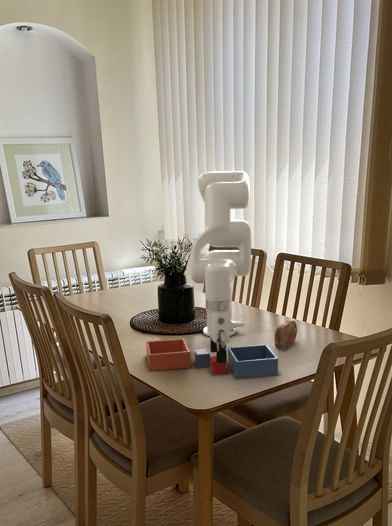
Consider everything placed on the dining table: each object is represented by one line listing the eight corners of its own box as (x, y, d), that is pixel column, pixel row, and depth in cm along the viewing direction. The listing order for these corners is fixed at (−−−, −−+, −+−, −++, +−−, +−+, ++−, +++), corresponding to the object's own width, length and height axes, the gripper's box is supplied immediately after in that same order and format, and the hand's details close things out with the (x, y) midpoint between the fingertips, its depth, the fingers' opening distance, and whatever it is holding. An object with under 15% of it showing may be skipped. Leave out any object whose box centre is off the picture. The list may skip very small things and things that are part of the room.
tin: (280, 353, 189) (281, 330, 186) (272, 351, 191) (272, 328, 188) (297, 340, 201) (298, 318, 198) (289, 338, 203) (290, 317, 200)
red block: (224, 368, 178) (223, 355, 176) (227, 373, 174) (226, 360, 172) (210, 369, 177) (210, 356, 176) (213, 374, 173) (212, 361, 171)
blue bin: (266, 359, 184) (266, 344, 182) (277, 374, 172) (278, 358, 170) (227, 362, 182) (227, 347, 180) (236, 378, 170) (236, 361, 168)
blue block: (208, 361, 184) (207, 348, 182) (210, 366, 180) (210, 353, 178) (194, 362, 183) (194, 349, 182) (197, 367, 179) (196, 354, 177)
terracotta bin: (184, 353, 191) (184, 338, 190) (190, 367, 179) (189, 351, 177) (146, 356, 190) (146, 341, 188) (150, 370, 177) (149, 354, 175)
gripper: (236, 311, 160) (236, 365, 166) (224, 297, 176) (224, 347, 182) (211, 312, 159) (211, 367, 165) (201, 298, 175) (202, 349, 181)
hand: (218, 357), depth 173 cm, fingers open, 9 cm apart
